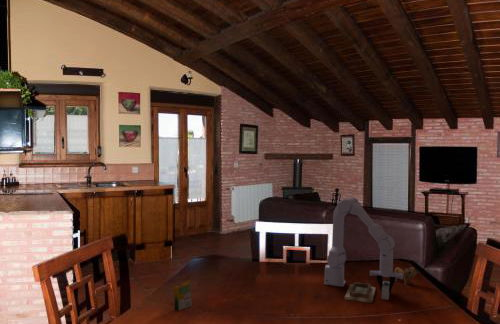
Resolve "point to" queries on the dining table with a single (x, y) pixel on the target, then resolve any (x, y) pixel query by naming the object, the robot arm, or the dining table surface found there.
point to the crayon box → (182, 295)
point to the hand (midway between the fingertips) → (385, 292)
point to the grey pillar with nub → (385, 290)
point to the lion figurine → (406, 273)
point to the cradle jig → (360, 292)
